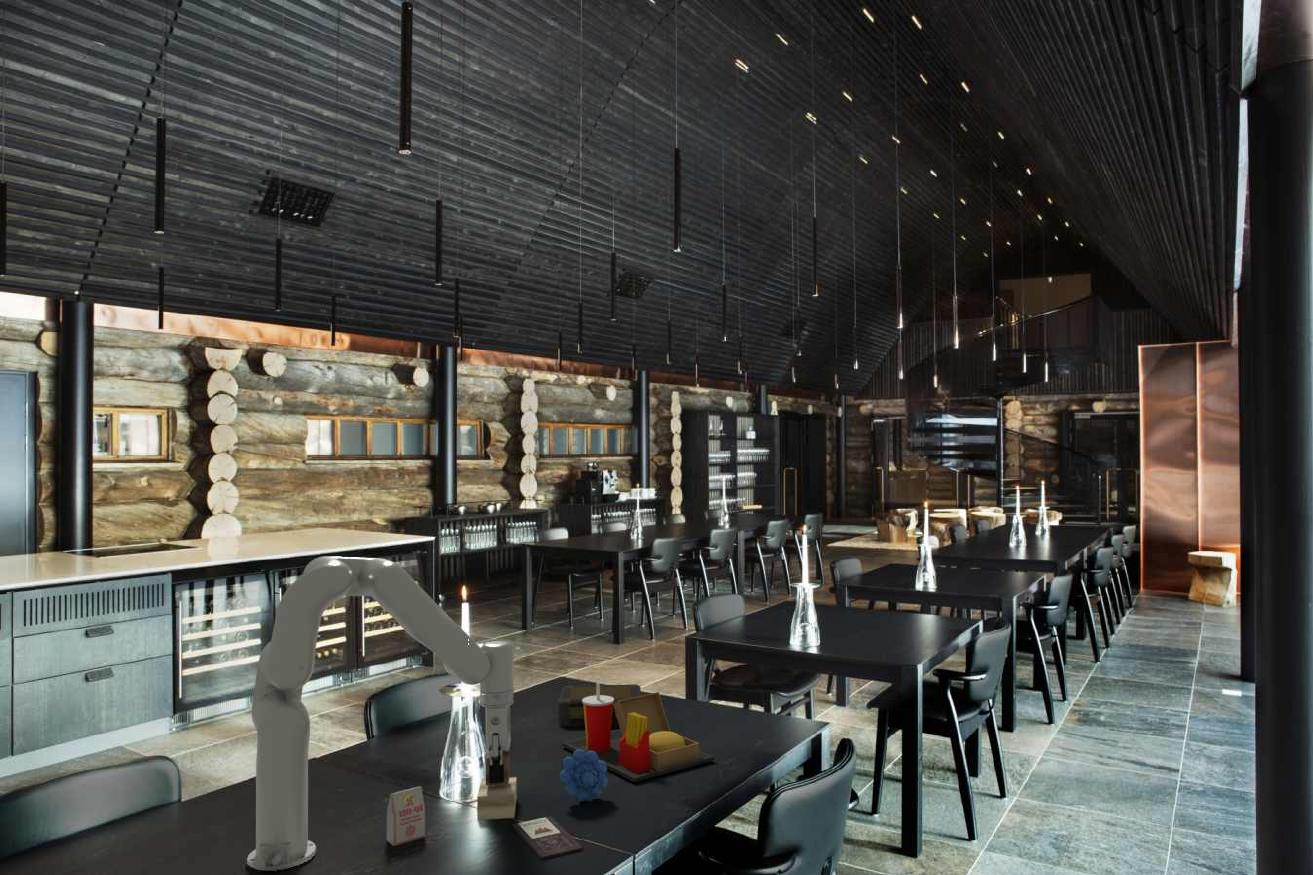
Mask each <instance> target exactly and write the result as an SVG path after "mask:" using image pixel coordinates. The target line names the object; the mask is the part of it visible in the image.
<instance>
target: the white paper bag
mask: <svg viewBox="0 0 1313 875" xmlns="http://www.w3.org/2000/svg"><path fill="white" fill-rule="evenodd" d="M424 801H425V800H424V795H423V787H422V786H421V785H420V786H416V787H412V788H408V789H404V790H400V791H396V792H393V793H392V792H391V793H389V801H388V805H387V807H386V808H387V809H386V841H387V842H388V843H389V844H391V846H393V847H396V846H399V845H402V844H406V843H409V842H413V841H416V840H419V839H423V838H425V837H426V807H425V802H424Z"/></svg>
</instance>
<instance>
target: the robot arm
mask: <svg viewBox="0 0 1313 875" xmlns="http://www.w3.org/2000/svg"><path fill="white" fill-rule="evenodd" d="M369 596H370V597H371V598H373V599H374V600H375V601H376V603H377V604H379V605H380V606H381V607H382V609H384V611H385V612H386V613H387V614H388V615H389V616H390V617H391V618H392V619H394V621H395V622H397V624H398V625H399V626H400V627H401V628H402V629H403V630H404V631H405V632H406V633H407V634H408V635H410V637H411V638H413V639H414V640H415V641H417V642H418V643H420V644H422V645H423V646H425V647H426V648H427V649H429V651H431V652H433V654H435V655H436V656H437V658H439V659H440V660H441V661H442V666H443V668H444V670H445V671H446V672H447V673H448V675H450V676H452V677H453V678H455V679H456V680H458V681H460V682H461V683H463V684H465V685H469V686H470V685H471V686H474V685H478V684H479V692H480V694H479V697H480V698H479V700H480V701H479V702H480V703H479V705H480V706H481V707H482V708H485V742H486V752H487V751H488V752H490V765H489V782H490V783H503V782H504V764H503V750H506V751H508V750H509V751H510V746H511V737H512V736H511V708H510V707H511V706H512V705H513V704H514V703H515V702H514V701H515V700H514V694H515V693H514V691H515V688H514V685H515V683H514V646H513V645H512V643H511V642H509V641H505V640H491V641H487V642H485V643H483V642H482V643H476V642H475V641H474V640H473V638H471V636H470V635H468V633H467V632H465V630H463V628H461V627H460V625H458V624H457V622H455V621H454V620H453V618H452V617H450V616H449V615H448V614H447V612H445V610H443V608H441V607H440V606H439V605H438V604H437V603H436V601H434V600H433V598H432V597H430V596H429V594H428V593H427V592H426V591H425V590H424V589H423V587H421V586H420V584H418V583H417V581H415V579H414V578H413V577H412V576H411V575H410V574H409V573H408V572H407V571H406V570H405V569H404V568H403V567H402V566H401V565H400V564H398V563H397V562H395V561H393V560H392V561H391V560H389V559H386V558H380V557H379V558H378V557H377V558H374V557H347V556H345V557H343V556H327V555H326V556H319V557H317V558H314V559H312V560H311V561H310V562H308V564H306V566H305V568H304V569H303V572H302V575H301V576H299V577H298V578H297V579H295V580H294V581H293V583H291V585H290V586H289V587H288V588H286V591H285V592H284V594H283V595H282V596H281V599H280V601H279V604H278V607H277V609H276V614H275V620H274V623H273V630H272V634H271V635H272V636H271V640H270V641H269V642H268V643H267V644H266V645H265V646H264V648H263V649H262V651H261V653H260V654H259V659H258V663H257V669H256V674H255V681H254V689H253V696H252V703H251V720H252V723H253V726H254V728H255V731H256V740H257V741H256V742H257V743H256V745H257V746H256V758H255V759H256V760H255V761H256V762H255V786H256V787H255V788H256V789H255V795H256V796H255V849H254V850H252V851H251V852H250V853H249V854H248V856H247V858H246V865H247V864H248V865H249V866H251V867H253V868H255V869H257V870H275V869H285V868H291V867H294V866H297V865H299V866H301V865H300V864H302V865H303V863H304V862H306V863H307V862H309V861H310V860H312V859H313V858H314V857H315V856H316V854H315V853H317V845H316V843H314V842H313V841H312V840H309V800H308V799H309V749H310V748H309V747H310V737H311V718H310V714H309V711H308V709H307V707H306V705H305V704H304V702H303V701H302V697H303V690H304V689H303V688H304V687H305V685H306V684H307V683H308V682H309V681H310V679H311V677H312V676H313V673H314V669H315V659H316V649H317V642H318V634H319V629H320V625H321V621H322V620H321V619H322V617H323V614H324V613H325V611H326V610H327V609H328V607H329V606H330V605H331V604H333V603H334V602H336V601H338V600H340V599H342V598H343V597H369ZM468 639H469V641H468ZM468 643H469V645H468ZM482 694H486V695H482ZM498 753H500V755H498ZM313 856H314V857H313ZM312 857H313V858H312ZM308 860H309V861H308ZM304 864H305V863H304ZM248 865H247V866H248ZM297 867H298V866H297ZM294 868H295V867H294ZM291 869H292V868H291Z"/></svg>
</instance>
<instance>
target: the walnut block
mask: <svg viewBox="0 0 1313 875" xmlns="http://www.w3.org/2000/svg"><path fill="white" fill-rule="evenodd" d="M498 755H500V753H498ZM510 758H511V757H510V749H509V750H508V751H506V750H503V764H504V782H503V783H490V782H489V765H490V752H488V751H487V750H486V755H485V779H486V785H500V784H509V777H510V770H511V769H510V768H511V767H510V765H511V764H510V763H511V762H510Z"/></svg>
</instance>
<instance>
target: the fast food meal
mask: <svg viewBox="0 0 1313 875" xmlns="http://www.w3.org/2000/svg"><path fill="white" fill-rule="evenodd" d="M595 685H596V695H595V696H589V697H585V698H583V699H582V703H583V706H584V718H585V726H584V727H585V736H584V737H579V738H575V739H571V740H566V741H562V742H561V747H563V748H566V749H567V750H569V751H571V752H573V753H574V752H575V751H576V750H577V749H580V750H583V751H584V752H585V754H587V752H589V751H595V752H596V753H597V755H598V761H599V760H600V761H604V762H605V763H606V766H607V770H609V771H611V772H614V773H615V774H617V775H619V776H621V777H623V778H626V779H628V781H630V782H634V783H636V782H640V781H644V780H648V779H651V778H654V777H659V776H662V775H665V774H669V773H673V772H677V771H680V770H684V769H688V768H691V767H695V766H698V765H702V764H707V763H709V762H712V761H713V762H714V761H715V756H714V755H712V754H708V753H706V752H704V751H701V750H700V743H699V742H697V741H694V740H691V739H689V738H687V737H685V736H682V735H680V734H678V733H676V732H673V731H672V730H671V726H670V724H669V721H668V718H667V714H666V711H665V708H664V705H663V702H662V699H661V695H660V693H659V691H657V692H656V691H655V692H651V693H647V694H642V695H641V696H636V697H631V698H626V699H621V700H618V701H616V702H615V703H613V702H614V698H613V697H610V696H604V695H600V685H601V682H596V684H595ZM613 706H614V709H615V713H616V716H617V720H618V723H619V725H618V726H619V729H615V730H612V726H613V725H612V710H613Z"/></svg>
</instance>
